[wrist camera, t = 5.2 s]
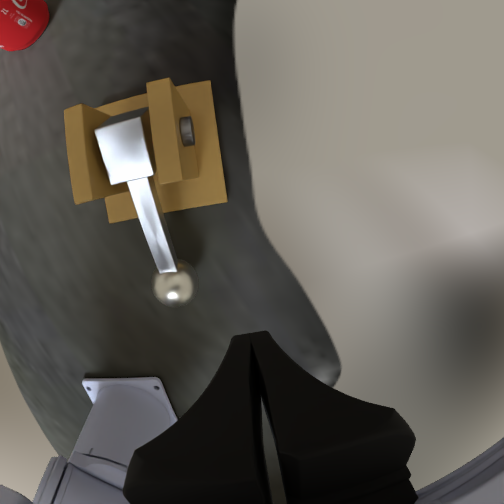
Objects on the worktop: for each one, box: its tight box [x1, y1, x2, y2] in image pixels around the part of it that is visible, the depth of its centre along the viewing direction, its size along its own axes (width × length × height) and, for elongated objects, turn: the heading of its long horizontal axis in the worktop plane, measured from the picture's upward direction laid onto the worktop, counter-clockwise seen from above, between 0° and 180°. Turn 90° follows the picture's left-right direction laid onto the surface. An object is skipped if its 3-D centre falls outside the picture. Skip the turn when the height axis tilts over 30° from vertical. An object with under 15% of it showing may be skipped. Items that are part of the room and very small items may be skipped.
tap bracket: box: [64, 78, 227, 224], centre depth 14 cm, size 8×8×8 cm
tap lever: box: [94, 106, 199, 307], centre depth 15 cm, size 12×3×3 cm, turn 7°
